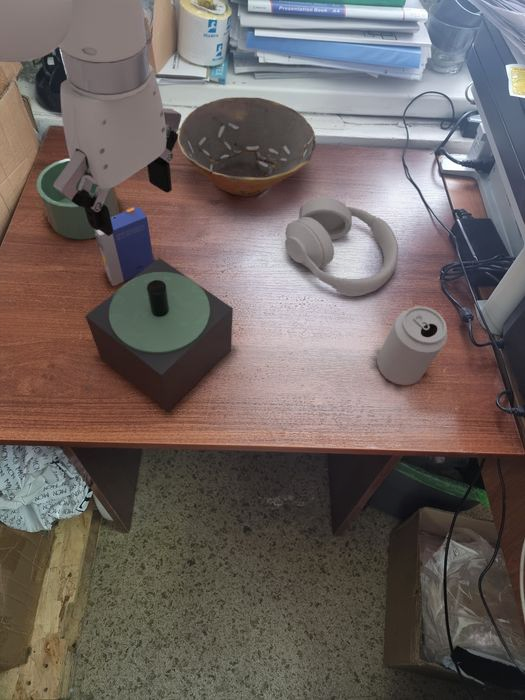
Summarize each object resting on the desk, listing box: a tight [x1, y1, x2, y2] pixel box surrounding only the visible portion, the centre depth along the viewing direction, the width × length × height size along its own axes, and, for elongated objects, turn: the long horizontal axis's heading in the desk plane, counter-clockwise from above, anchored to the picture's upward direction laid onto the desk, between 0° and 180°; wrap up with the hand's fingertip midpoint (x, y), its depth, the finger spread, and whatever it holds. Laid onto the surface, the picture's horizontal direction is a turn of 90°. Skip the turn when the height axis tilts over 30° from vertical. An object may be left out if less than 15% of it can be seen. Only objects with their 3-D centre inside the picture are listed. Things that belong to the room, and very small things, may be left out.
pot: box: [36, 158, 120, 240], centre depth 89 cm, size 12×12×8 cm
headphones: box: [284, 196, 399, 297], centre depth 89 cm, size 18×8×20 cm
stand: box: [84, 257, 234, 413], centre depth 73 cm, size 14×14×11 cm
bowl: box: [177, 96, 317, 197], centre depth 97 cm, size 25×25×10 cm
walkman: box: [94, 206, 155, 287], centre depth 81 cm, size 8×3×12 cm, turn 125°
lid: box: [109, 272, 210, 354], centre depth 66 cm, size 13×13×5 cm
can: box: [376, 305, 448, 386], centre depth 75 cm, size 8×8×12 cm
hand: (132, 207), depth 60 cm, fingers open, 9 cm apart
